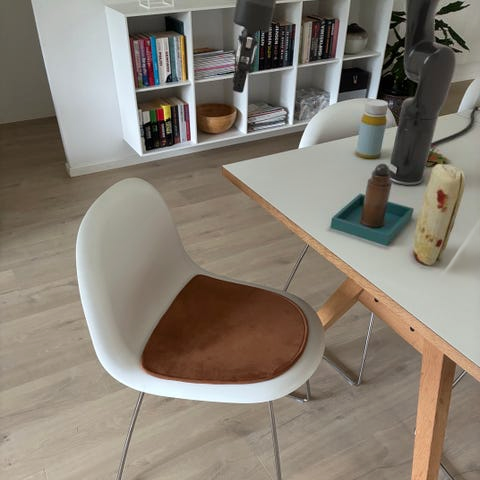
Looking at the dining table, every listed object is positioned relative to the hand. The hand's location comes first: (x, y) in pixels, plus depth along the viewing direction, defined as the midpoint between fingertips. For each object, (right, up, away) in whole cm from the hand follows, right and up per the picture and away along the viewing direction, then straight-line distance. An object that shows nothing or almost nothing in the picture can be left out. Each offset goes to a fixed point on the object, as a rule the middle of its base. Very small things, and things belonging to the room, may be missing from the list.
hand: (237, 87), depth 110 cm
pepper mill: (+31, -27, +11) cm, 42 cm away
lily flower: (+56, -2, +43) cm, 70 cm away
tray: (+31, -27, +11) cm, 43 cm away
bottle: (+39, 0, +45) cm, 59 cm away
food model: (+40, -36, 0) cm, 54 cm away
